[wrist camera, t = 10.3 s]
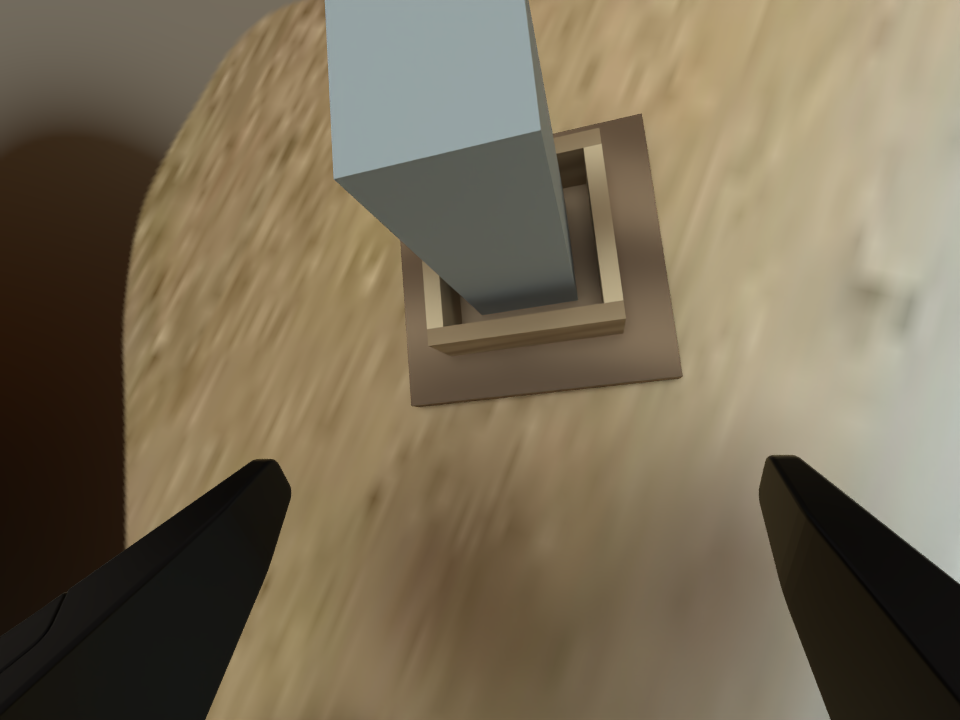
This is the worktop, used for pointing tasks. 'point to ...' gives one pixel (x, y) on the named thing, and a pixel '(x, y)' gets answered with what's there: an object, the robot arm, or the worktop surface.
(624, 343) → the pocket board
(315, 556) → the worktop surface
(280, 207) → the worktop surface
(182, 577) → the robot arm
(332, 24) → the slate peg
